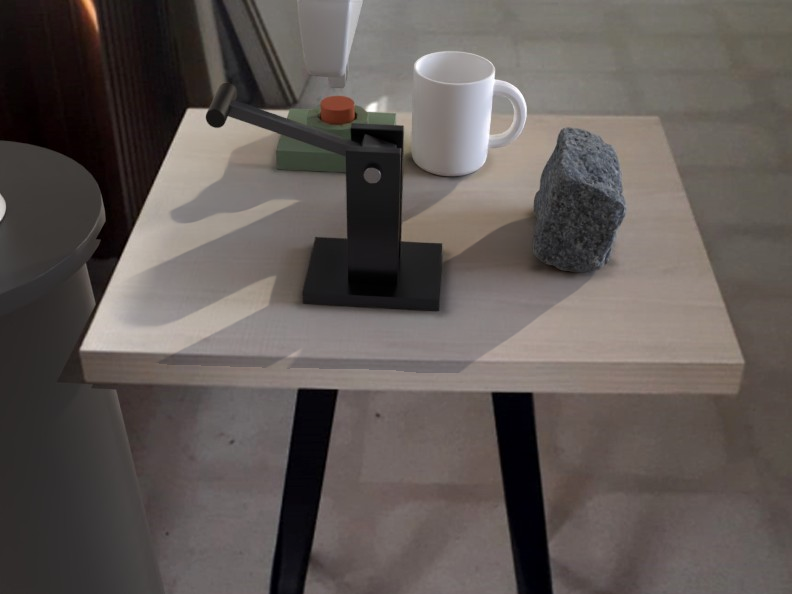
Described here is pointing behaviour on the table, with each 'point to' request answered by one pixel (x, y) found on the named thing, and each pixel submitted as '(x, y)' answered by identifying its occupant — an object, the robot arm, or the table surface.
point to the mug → (458, 112)
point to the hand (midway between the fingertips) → (338, 82)
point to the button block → (314, 158)
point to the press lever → (279, 123)
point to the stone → (578, 203)
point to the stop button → (337, 110)
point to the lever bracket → (374, 237)
